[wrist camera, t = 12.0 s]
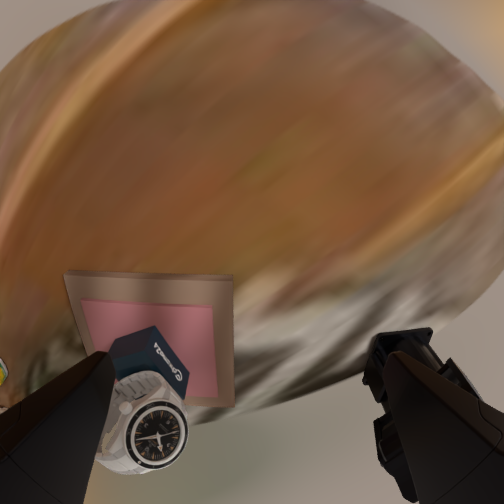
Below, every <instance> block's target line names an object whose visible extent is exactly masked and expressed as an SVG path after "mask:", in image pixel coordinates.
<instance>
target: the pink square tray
mask: <svg viewBox="0 0 504 504" xmlns="http://www.w3.org/2000/svg"><path fill="white" fill-rule="evenodd" d="M63 276H64V281H65V285H66V289H67V292H68V296H69V300H70V303H71V307H72V310H73V314H74V317H75V320H76V323H77V327H78V330H79V333H80V336H81V339H82V342H83V344H84V347H85V350H86V353H87V355H88V356H90V355H91V354H93V353H94V352H96V351H105V352H108V351H109V349H110V347H111V346H112V344H113V342H114V340H115V339H116V338H119V337H122V336H125V335H128V334H131V333H134V332H137V331H140V330H142V329H145V328H148V327H151V326H154V325H155V326H156V327H157V329H158V330H159V332H160V333H161V335H162V336H163V337H164V339H165V340H166V342H167V343H168V344H169V346H170V347H171V349H172V350H173V351H174V353H175V354H176V355H177V357H178V358H179V359H180V361H181V362H182V363H183V365H184V366H185V367H186V369H187V370H188V371H189V373H190V375H189V380H188V385H187V390H186V395H185V399H184V400H183V403H184V405H191V406H207V407H235V386H234V335H233V275H198V274H158V273H127V272H101V271H78V270H68V271H67V272H66V273H65V274H64V275H63ZM117 382H118V380H117V379H116V378H115V383H114V385H115V384H116V383H117Z"/></svg>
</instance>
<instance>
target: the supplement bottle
mask: <svg viewBox="0 0 504 504" xmlns="http://www.w3.org/2000/svg"><path fill="white" fill-rule="evenodd" d="M7 375H8V371H7V368H6V365H5V364H4V362H3V361H2V359H1V358H0V386H1V384H2V383H3V382H4V380H5V379H6V377H7Z"/></svg>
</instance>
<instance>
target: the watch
mask: <svg viewBox="0 0 504 504" xmlns="http://www.w3.org/2000/svg"><path fill="white" fill-rule="evenodd" d="M108 353H109V354H110V356H111V358H112V361H113V364H114V367H115V370H116V379H117V380H118V382H117V383H116V384H115V385H114V387H113V392H112V397H111V401H110V406H109V411H108V415H107V419H106V422H105V425H104V428H103V432H102V435H101V438H100V442H99V445H98V448H97V452H96V455H95V459H96V460H97V461H99V462H100V463H101V464H103V465H104V466H105V467H107V468H108V469H109V470H111V471H113V472H115V473H118V474H123V475H126V474H127V475H129V474H130V475H132V474H137V473H139V474H144V473H146V472H149V471H151V470H157V469H162V468H165V467H167V466H169V465H170V464H172V463H173V462H174V461H176V460H177V459H178V458H179V457H180V455H181V454H182V452H183V451H184V449H185V446H186V443H187V440H188V434H189V432H188V431H189V430H188V429H189V427H188V422H187V412H186V411H185V410H186V408H185V405H184V403H183V400H184V399H185V395H186V390H187V385H188V380H189V375H190V373H189V371H188V370H187V369H186V367H185V366H184V365H183V363H182V362H181V361H180V359H179V358H178V357H177V355H176V354H175V353H174V351H173V350H172V349H171V347H170V346H169V344H168V343H167V342H166V340H165V339H164V337H163V336H162V335H161V333H160V332H159V330H158V329H157V327H156V326H155V325H154V326H151V327H148V328H145V329H142V330H140V331H137V332H134V333H131V334H128V335H125V336H122V337H119V338H116V339H115V340H114V342H113V344H112V346H111V347H110V349H109V351H108ZM134 399H135V401H134V402H132V401H133V400H134ZM130 402H132V403H131V404H130ZM117 421H118V422H117ZM116 422H117V427H116V430H115V433H114V435H113V436H112V438H111V439H110V441H109V443H108V444H107V446H106V449H107V450H108V451H109V452H108V453H104V454H103V453H102V446H101V444H102V440H103V438H104V436H105V434H106V433H109V432H110V431H111V430H112V428H113V427H114V425H115V424H116Z"/></svg>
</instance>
